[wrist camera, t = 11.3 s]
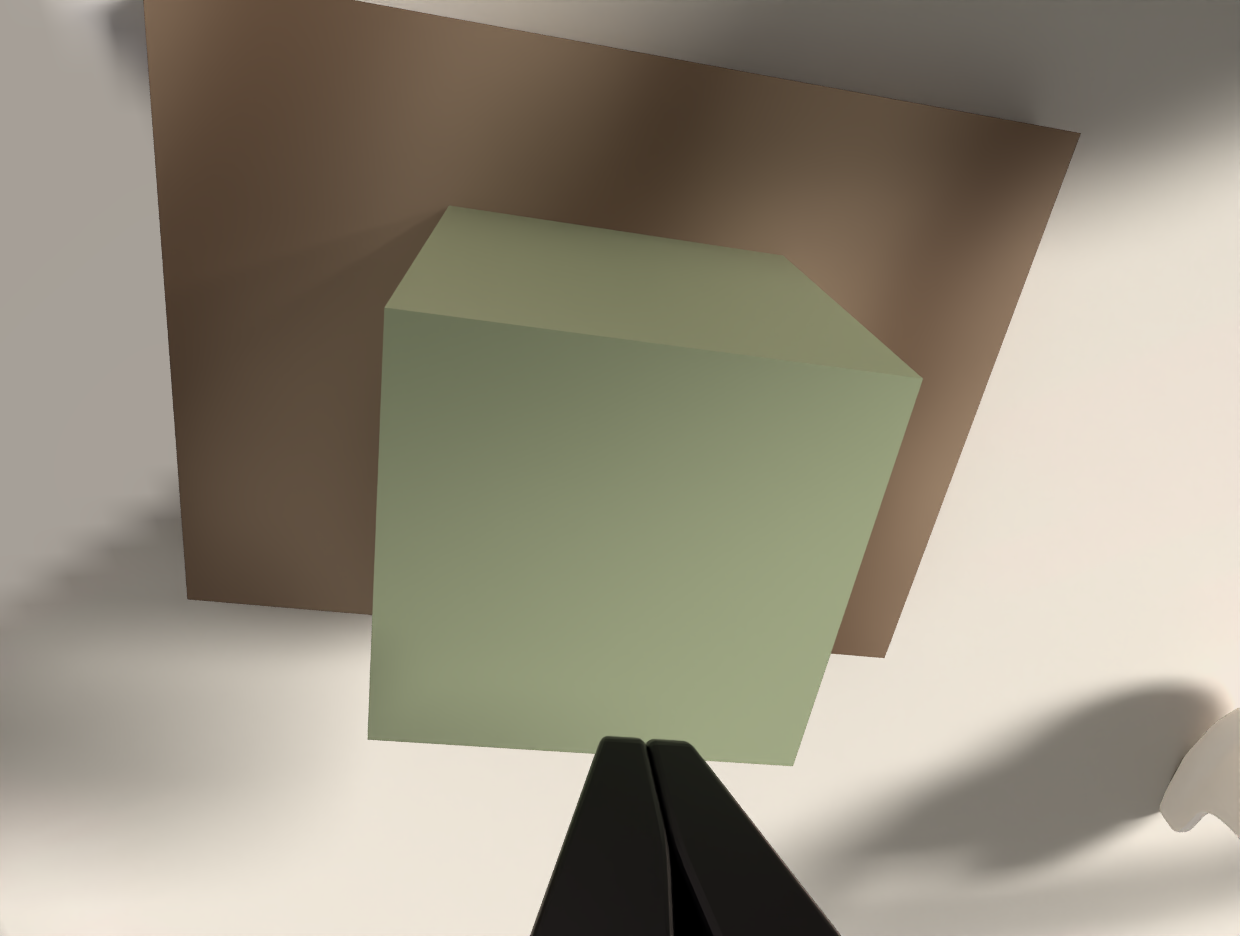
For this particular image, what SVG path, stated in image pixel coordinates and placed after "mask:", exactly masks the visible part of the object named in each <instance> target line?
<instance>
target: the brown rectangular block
mask: <svg viewBox="0 0 1240 936" xmlns="http://www.w3.org/2000/svg"><path fill="white" fill-rule="evenodd" d="M143 3H144V16H145V30H146V43H147V57H148V71H149V84H150V98H151V111H152V125H153V138H154V152H155V165H156V178H157V193H158V205H159V219H160V233H161V247H162V259H163V273H164V287H165V301H166V315H167V328H168V341H169V355H170V369H171V382H172V396H173V410H174V422H175V437H176V450H177V464H178V477H179V491H180V504H181V518H182V532H183V545H184V559H185V572H186V586H187V599H190V600H202V601H214V602H226V603H238V604H249V605H261V606H273V607H285V608H297V609H309V610H321V611H333V612H344V613H356V614H368V615H372V612H373V587H374V561H375V536H376V510H377V485H378V459H379V434H380V408H381V382H382V357H383V331H384V307H385V306H386V304H387V303H388V301H389V299H390V298H391V296H392V295H393V293H394V292H395V290H396V288H397V287H398V285H399V284H400V282H401V281H402V279H403V277H404V276H405V274H406V273H407V271H408V270H409V268H410V266H411V265H412V263H413V262H414V260H415V258H416V257H417V255H418V254H419V252H420V251H421V249H422V247H423V246H424V244H425V243H426V241H427V240H428V238H429V236H430V235H431V233H432V232H433V230H434V228H435V227H436V225H437V224H438V222H439V221H440V219H441V217H442V216H443V214H444V213H445V211H446V210H447V208H448V206H449V205H450V206H456V207H463V208H470V209H476V210H483V211H490V212H496V213H503V214H510V215H516V216H523V217H530V218H536V219H543V220H549V221H556V222H563V223H569V224H576V225H583V226H589V227H596V228H603V229H609V230H616V231H623V232H629V233H636V234H643V235H649V236H656V237H663V238H669V239H676V240H683V241H689V242H696V243H703V244H709V245H716V246H723V247H729V248H736V249H743V250H749V251H756V252H763V253H769V254H776V255H783V256H784V257H785V258H787V259H788V260H789V261H790V262H791V263H792V264H793V265H794V266H796V267H797V268H798V269H799V270H800V271H801V272H802V273H804V274H805V275H806V276H807V277H808V278H809V279H810V280H811V281H813V282H814V283H815V284H816V285H817V286H818V287H819V288H821V289H822V290H823V291H824V292H825V293H826V294H827V295H829V296H830V297H831V298H832V299H833V300H834V301H835V302H836V303H838V304H839V305H840V306H841V307H842V308H843V309H844V310H846V311H847V312H848V313H849V314H850V315H851V316H852V317H854V318H855V319H856V320H857V321H858V322H859V323H860V324H861V325H863V326H864V327H865V328H866V329H867V330H868V331H869V332H871V333H872V334H873V335H874V336H875V337H876V338H877V339H879V340H880V341H881V342H882V343H883V344H884V345H885V346H886V347H888V348H889V349H890V350H891V351H892V352H893V353H894V354H896V355H897V356H898V357H899V358H900V359H901V360H902V361H904V362H905V363H906V364H907V365H908V366H909V367H910V368H911V369H913V370H914V371H915V372H916V373H917V374H918V375H919V376H921V377H922V378H923V380H922V383H921V386H920V389H919V392H918V395H917V398H916V401H915V404H914V407H913V410H912V413H911V416H910V419H909V422H908V425H907V428H906V431H905V434H904V437H903V440H902V443H901V446H900V449H899V452H898V455H897V458H896V461H895V464H894V467H893V470H892V473H891V476H890V479H889V482H888V485H887V487H886V490H885V493H884V496H883V499H882V502H881V505H880V508H879V511H878V514H877V517H876V520H875V523H874V526H873V529H872V532H871V535H870V538H869V541H868V544H867V547H866V550H865V553H864V556H863V559H862V562H861V565H860V568H859V571H858V574H857V577H856V580H855V583H854V586H853V589H852V592H851V595H850V598H849V601H848V604H847V607H846V610H845V613H844V616H843V618H842V621H841V624H840V627H839V630H838V633H837V636H836V639H835V642H834V645H833V648H832V651H831V654H843V655H855V656H867V657H879V658H885V655H886V652H887V650H888V647H889V644H890V642H891V639H892V636H893V634H894V631H895V628H896V626H897V623H898V620H899V618H900V615H901V612H902V610H903V607H904V604H905V602H906V599H907V596H908V594H909V591H910V588H911V586H912V583H913V580H914V578H915V575H916V572H917V569H918V567H919V564H920V561H921V559H922V556H923V553H924V551H925V548H926V545H927V543H928V540H929V537H930V535H931V532H932V529H933V527H934V524H935V521H936V519H937V516H938V513H939V511H940V508H941V505H942V503H943V500H944V497H945V495H946V492H947V489H948V487H949V484H950V481H951V479H952V476H953V473H954V471H955V468H956V465H957V463H958V460H959V457H960V455H961V452H962V449H963V447H964V444H965V441H966V439H967V436H968V433H969V431H970V428H971V425H972V423H973V420H974V417H975V415H976V412H977V409H978V406H979V404H980V401H981V398H982V396H983V393H984V390H985V388H986V385H987V382H988V380H989V377H990V374H991V372H992V369H993V366H994V364H995V361H996V358H997V356H998V353H999V350H1000V348H1001V345H1002V342H1003V340H1004V337H1005V334H1006V332H1007V329H1008V326H1009V324H1010V321H1011V318H1012V316H1013V313H1014V310H1015V308H1016V305H1017V302H1018V300H1019V297H1020V294H1021V292H1022V289H1023V286H1024V284H1025V281H1026V278H1027V276H1028V273H1029V270H1030V268H1031V265H1032V262H1033V260H1034V257H1035V254H1036V251H1037V249H1038V246H1039V243H1040V241H1041V238H1042V235H1043V233H1044V230H1045V227H1046V225H1047V222H1048V219H1049V217H1050V214H1051V211H1052V209H1053V206H1054V203H1055V201H1056V198H1057V195H1058V193H1059V190H1060V187H1061V185H1062V182H1063V179H1064V177H1065V174H1066V171H1067V169H1068V166H1069V163H1070V161H1071V158H1072V155H1073V153H1074V150H1075V147H1076V145H1077V142H1078V139H1079V137H1080V134H1081V133H1076V132H1071V131H1065V130H1060V129H1054V128H1049V127H1043V126H1038V125H1032V124H1027V123H1022V122H1016V121H1011V120H1005V119H1000V118H994V117H989V116H983V115H978V114H972V113H967V112H961V111H956V110H951V109H945V108H940V107H934V106H929V105H923V104H918V103H912V102H907V101H901V100H896V99H890V98H885V97H880V96H874V95H869V94H863V93H858V92H852V91H847V90H841V89H836V88H830V87H825V86H819V85H814V84H809V83H803V82H798V81H792V80H787V79H781V78H776V77H770V76H765V75H759V74H754V73H749V72H743V71H738V70H732V69H727V68H721V67H716V66H710V65H705V64H699V63H694V62H688V61H683V60H678V59H672V58H667V57H661V56H656V55H650V54H645V53H639V52H634V51H628V50H623V49H617V48H612V47H607V46H601V45H596V44H590V43H585V42H579V41H574V40H568V39H563V38H557V37H552V36H546V35H541V34H536V33H530V32H525V31H519V30H514V29H508V28H503V27H497V26H492V25H486V24H481V23H475V22H470V21H465V20H459V19H454V18H448V17H443V16H437V15H432V14H426V13H421V12H415V11H410V10H405V9H399V8H394V7H388V6H383V5H377V4H372V3H366V2H361V1H355V0H143Z"/></svg>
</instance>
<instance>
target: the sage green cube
mask: <svg viewBox="0 0 1240 936" xmlns="http://www.w3.org/2000/svg"><path fill="white" fill-rule="evenodd" d="M922 380H923V378H922V377H921V376H919V375H918V374H917V373H916V372H915V371H914V370H913V369H911V368H910V367H909V366H908V365H907V364H906V363H905V362H904V361H902V360H901V359H900V358H899V357H898V356H897V355H896V354H894V353H893V352H892V351H891V350H890V349H889V348H888V347H886V346H885V345H884V344H883V343H882V342H881V341H880V340H879V339H877V338H876V337H875V336H874V335H873V334H872V333H871V332H869V331H868V330H867V329H866V328H865V327H864V326H863V325H861V324H860V323H859V322H858V321H857V320H856V319H855V318H854V317H852V316H851V315H850V314H849V313H848V312H847V311H846V310H844V309H843V308H842V307H841V306H840V305H839V304H838V303H836V302H835V301H834V300H833V299H832V298H831V297H830V296H829V295H827V294H826V293H825V292H824V291H823V290H822V289H821V288H819V287H818V286H817V285H816V284H815V283H814V282H813V281H811V280H810V279H809V278H808V277H807V276H806V275H805V274H804V273H802V272H801V271H800V270H799V269H798V268H797V267H796V266H794V265H793V264H792V263H791V262H790V261H789V260H788V259H787V258H785V257H784V256H783V255H776V254H769V253H763V252H756V251H749V250H743V249H736V248H729V247H723V246H716V245H709V244H703V243H696V242H689V241H683V240H676V239H669V238H663V237H656V236H649V235H643V234H636V233H629V232H623V231H616V230H609V229H603V228H596V227H589V226H583V225H576V224H569V223H563V222H556V221H549V220H543V219H536V218H530V217H523V216H516V215H510V214H503V213H496V212H490V211H483V210H476V209H470V208H463V207H456V206H450V205H449V206H448V208H447V210H446V211H445V213H444V214H443V216H442V217H441V219H440V221H439V222H438V224H437V225H436V227H435V228H434V230H433V232H432V233H431V235H430V236H429V238H428V240H427V241H426V243H425V244H424V246H423V247H422V249H421V251H420V252H419V254H418V255H417V257H416V258H415V260H414V262H413V263H412V265H411V266H410V268H409V270H408V271H407V273H406V274H405V276H404V277H403V279H402V281H401V282H400V284H399V285H398V287H397V288H396V290H395V292H394V293H393V295H392V296H391V298H390V299H389V301H388V303H387V304H386V306H385V307H384V331H383V357H382V382H381V408H380V434H379V459H378V485H377V510H376V536H375V561H374V587H373V612H372V638H371V663H370V689H369V715H368V740H382V741H398V742H414V743H430V744H446V745H462V746H478V747H494V748H510V749H526V750H543V751H559V752H575V753H591V754H595V753H596V750H597V747H598V745H599V742H600V740H601V739H602V738H603V737H605V736H620V737H635V738H640V739H642V740H643V741H644V742H645V744H646V742H647V741H649V740H651V739H666V740H681V741H686V742H689V743H690V744H691V745H693V746H694V748H695V749H696V750H697V751H698V753H699V754H700V755H701V756H702V758H703V759H704V760H705V761H719V762H735V763H751V764H767V765H783V766H793V764H794V761H795V758H796V755H797V752H798V749H799V747H800V744H801V741H802V738H803V735H804V732H805V729H806V726H807V723H808V720H809V717H810V714H811V711H812V708H813V705H814V702H815V699H816V696H817V693H818V690H819V687H820V684H821V681H822V678H823V675H824V672H825V669H826V666H827V663H828V660H829V657H830V654H831V651H832V648H833V645H834V642H835V639H836V636H837V633H838V630H839V627H840V624H841V621H842V618H843V616H844V613H845V610H846V607H847V604H848V601H849V598H850V595H851V592H852V589H853V586H854V583H855V580H856V577H857V574H858V571H859V568H860V565H861V562H862V559H863V556H864V553H865V550H866V547H867V544H868V541H869V538H870V535H871V532H872V529H873V526H874V523H875V520H876V517H877V514H878V511H879V508H880V505H881V502H882V499H883V496H884V493H885V490H886V487H887V485H888V482H889V479H890V476H891V473H892V470H893V467H894V464H895V461H896V458H897V455H898V452H899V449H900V446H901V443H902V440H903V437H904V434H905V431H906V428H907V425H908V422H909V419H910V416H911V413H912V410H913V407H914V404H915V401H916V398H917V395H918V392H919V389H920V386H921V383H922Z"/></svg>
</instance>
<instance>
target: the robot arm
mask: <svg viewBox="0 0 1240 936" xmlns="http://www.w3.org/2000/svg"><path fill="white" fill-rule="evenodd" d="M530 936H841V935H840V933H839V932H838V931H837V930H836V928H835V927H834V926H833V924H832V923H831V922H830V921H829V919H828V918H827V917H826V916H825V914H824V913H823V912H822V910H821V909H820V908H819V907H818V905H817V904H816V903H815V901H814V900H813V899H812V898H811V896H810V895H809V894H808V892H807V891H806V890H805V889H804V887H803V886H802V885H801V883H800V882H799V881H798V880H797V878H796V877H795V876H794V874H793V873H792V872H791V871H790V869H789V868H788V867H787V865H786V864H785V863H784V862H783V860H782V859H781V858H780V856H779V855H778V854H777V853H776V851H775V850H774V849H773V848H772V846H771V845H770V844H769V842H768V841H767V840H766V839H765V837H764V836H763V835H762V833H761V832H760V831H759V830H758V828H757V827H756V826H755V824H754V823H753V822H752V821H751V819H750V818H749V817H748V815H747V814H746V813H745V812H744V810H743V809H742V808H741V806H740V805H739V804H738V803H737V801H736V800H735V799H734V797H733V796H732V795H731V794H730V792H729V791H728V790H727V788H726V787H725V786H724V785H723V783H722V782H721V781H720V780H719V778H718V777H717V776H716V774H715V773H714V772H713V771H712V769H711V768H710V767H709V765H708V764H707V763H706V762H705V760H704V759H703V758H702V756H701V755H700V754H699V753H698V751H697V750H696V749H695V748H694V746H693V745H691V744H690V743H689V742H686V741H681V740H666V739H651V740H649V741H647V742H646V744H645V742H644V741H643V740H642V739H640V738H635V737H620V736H605V737H603V738H602V739H601V740H600V742H599V745H598V747H597V750H596V753H595V756H594V758H593V761H592V764H591V767H590V770H589V772H588V775H587V778H586V781H585V784H584V786H583V789H582V792H581V795H580V798H579V800H578V803H577V806H576V809H575V812H574V814H573V817H572V820H571V823H570V825H569V828H568V831H567V834H566V837H565V839H564V842H563V845H562V848H561V851H560V853H559V856H558V859H557V862H556V865H555V867H554V870H553V873H552V876H551V878H550V881H549V884H548V887H547V890H546V892H545V895H544V898H543V901H542V904H541V906H540V909H539V912H538V915H537V918H536V920H535V923H534V926H533V929H532V931H531V934H530Z"/></svg>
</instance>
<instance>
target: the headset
mask: <svg viewBox="0 0 1240 936" xmlns="http://www.w3.org/2000/svg"><path fill="white" fill-rule="evenodd" d="M1159 808H1160V812H1161V814H1162V816H1163V817H1164V819H1165V820H1166V822H1167V823H1168V824H1169V826H1170V827H1171V828H1172V829H1173V830H1174V831H1176V832H1187V831H1189V830H1191V829H1192V828H1193V827H1194V826H1195V825H1196V824H1197V823H1198V822H1199V821H1200V820H1201V819H1202V818H1203V817H1204V816H1205V815H1206V814H1208V813H1210V814H1212V815H1214V816H1216V817H1217V818H1219V819H1220V820H1221V821H1222V822H1223V823H1225V824H1226V825H1227V826H1228V827H1229V828H1230V829H1231V830H1232V831H1233V832H1234V833H1235V834H1236V836H1237V837H1238V838H1239V839H1240V708H1237V709H1235V710H1233V711H1232V712H1230V713H1229V714H1227V715H1226V716H1224V717H1223V718H1221V719H1220V720H1218V721H1217V722H1216V723H1214V724H1213V725H1212V726H1211V727H1210V728H1209V730H1208V731H1207V732H1206V733H1205V734H1204V735H1203V736H1202V737H1201V738H1200V740H1199V741H1198V742H1197V743H1196V744H1195V745H1194V746H1193V747H1192V748H1191V749H1190V750H1189V752H1188V753H1187V754H1186V755H1185V756H1184V758H1183V760H1182V762H1181V764H1180V766H1179V767H1178V769H1177V771H1176V773H1175V775H1174V776H1173V778H1172V780H1171V782H1170V784H1169V785H1168V787H1167V790H1166V792H1165V794H1164V797H1163V799H1162V801H1161V804H1160V807H1159Z"/></svg>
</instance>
